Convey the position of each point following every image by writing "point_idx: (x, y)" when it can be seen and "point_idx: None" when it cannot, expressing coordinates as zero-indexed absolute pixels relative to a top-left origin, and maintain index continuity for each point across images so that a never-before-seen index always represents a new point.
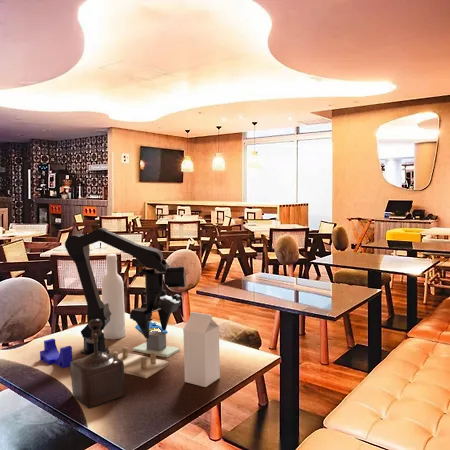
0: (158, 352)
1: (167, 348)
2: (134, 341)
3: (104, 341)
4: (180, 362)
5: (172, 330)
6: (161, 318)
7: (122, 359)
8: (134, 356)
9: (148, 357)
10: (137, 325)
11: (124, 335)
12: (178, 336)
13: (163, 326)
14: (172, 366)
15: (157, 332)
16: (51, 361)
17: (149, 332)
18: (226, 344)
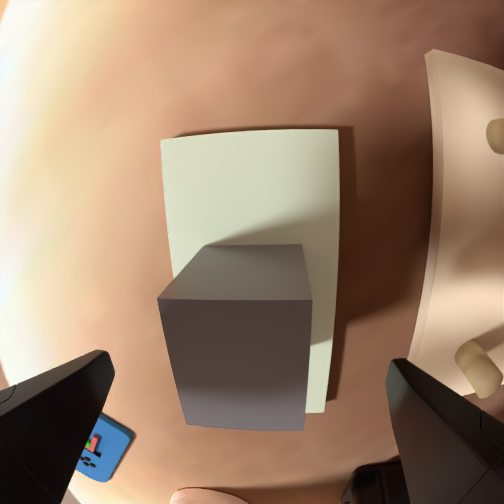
0: (324, 231)
1: (216, 222)
2: (210, 450)
3: (392, 497)
4: (355, 8)
5: (21, 366)
6: (60, 459)
7: (493, 339)
8: (452, 319)
9: (445, 227)
10: (98, 479)
11: (193, 490)
12: (31, 306)
13: (94, 386)
14: (429, 28)
15: (205, 379)
16: None
17: (98, 436)
18: (13, 22)
